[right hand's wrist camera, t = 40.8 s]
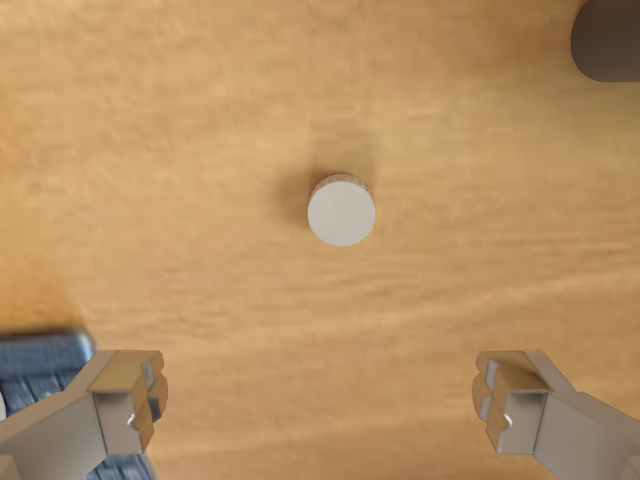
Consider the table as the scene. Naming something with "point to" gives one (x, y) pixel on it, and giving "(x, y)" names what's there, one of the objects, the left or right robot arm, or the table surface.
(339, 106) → the table surface
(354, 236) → the cap
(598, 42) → the bottle
